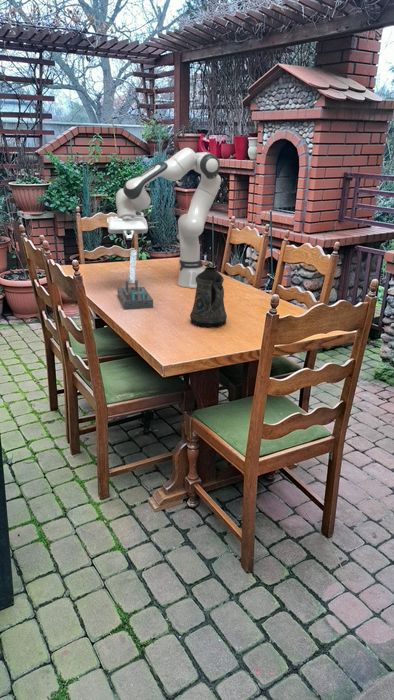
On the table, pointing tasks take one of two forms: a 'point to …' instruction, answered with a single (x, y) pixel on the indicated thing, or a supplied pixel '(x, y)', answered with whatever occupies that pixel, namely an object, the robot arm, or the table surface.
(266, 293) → the table surface
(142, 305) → the grey mechanical fixture
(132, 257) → the silver long bar
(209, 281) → the beer stein
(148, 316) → the table surface
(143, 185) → the robot arm
